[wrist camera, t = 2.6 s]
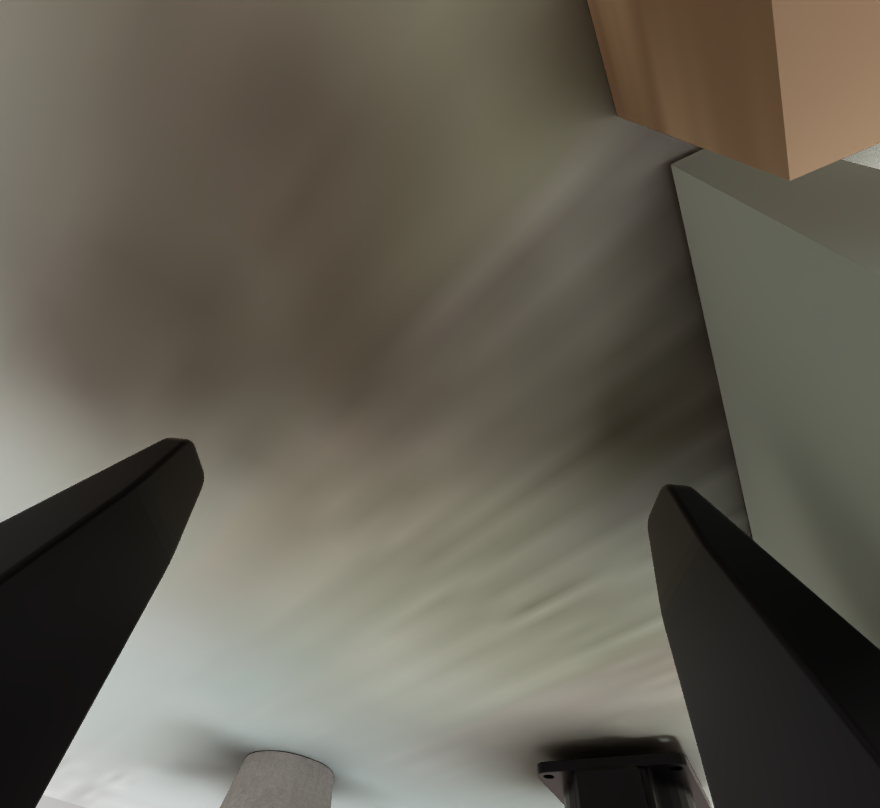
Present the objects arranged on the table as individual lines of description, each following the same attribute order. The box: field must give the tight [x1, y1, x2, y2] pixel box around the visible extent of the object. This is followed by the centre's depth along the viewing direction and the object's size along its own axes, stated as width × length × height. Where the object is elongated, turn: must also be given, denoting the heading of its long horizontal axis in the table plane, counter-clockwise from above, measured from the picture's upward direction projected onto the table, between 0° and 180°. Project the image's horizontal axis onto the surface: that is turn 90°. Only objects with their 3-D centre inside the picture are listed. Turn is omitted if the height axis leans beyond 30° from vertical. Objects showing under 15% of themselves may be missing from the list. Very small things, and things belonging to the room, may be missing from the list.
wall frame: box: [587, 0, 880, 181], centre depth 9 cm, size 22×2×6 cm, turn 27°
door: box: [671, 149, 880, 649], centre depth 9 cm, size 14×1×6 cm, turn 27°
